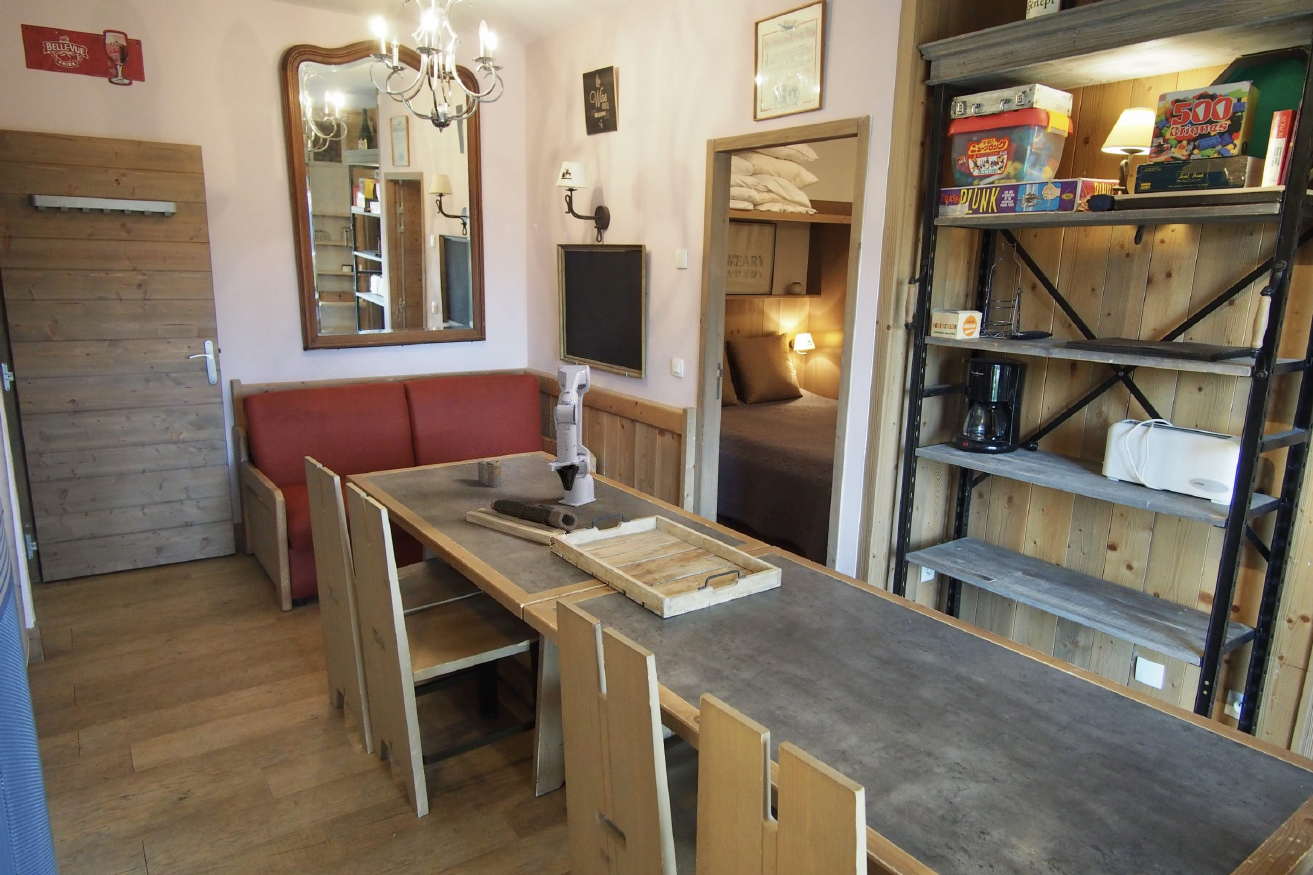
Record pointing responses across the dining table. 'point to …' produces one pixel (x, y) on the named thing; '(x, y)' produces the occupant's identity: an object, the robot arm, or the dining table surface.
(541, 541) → the plank
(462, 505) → the dining table surface
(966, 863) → the dining table surface
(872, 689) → the dining table surface
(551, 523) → the tube
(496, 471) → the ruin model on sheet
